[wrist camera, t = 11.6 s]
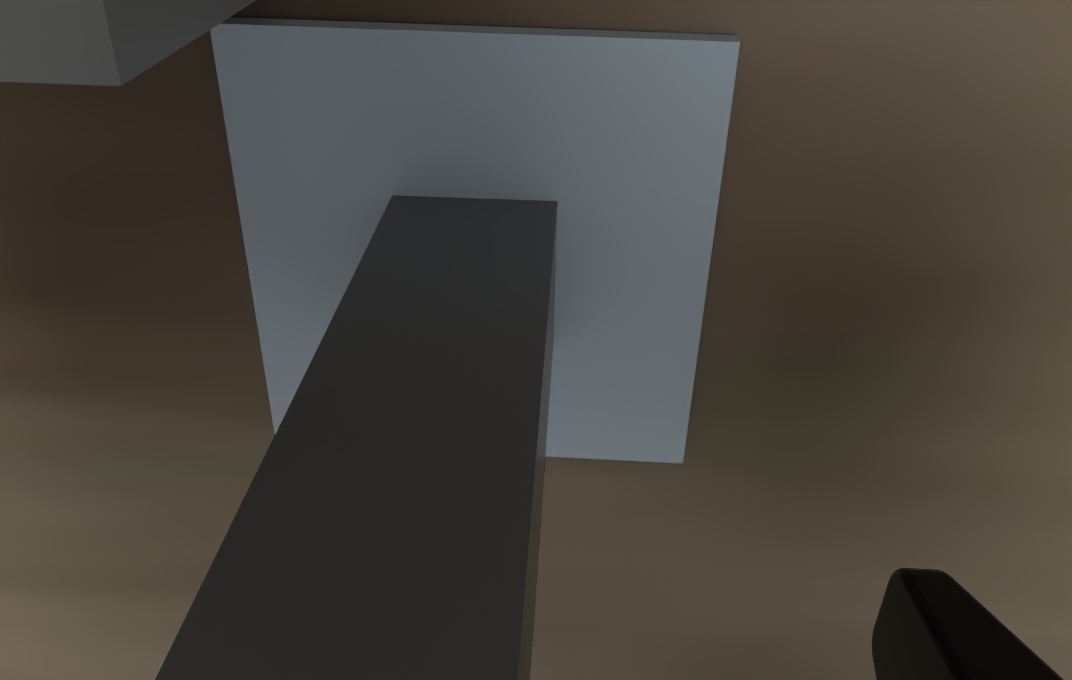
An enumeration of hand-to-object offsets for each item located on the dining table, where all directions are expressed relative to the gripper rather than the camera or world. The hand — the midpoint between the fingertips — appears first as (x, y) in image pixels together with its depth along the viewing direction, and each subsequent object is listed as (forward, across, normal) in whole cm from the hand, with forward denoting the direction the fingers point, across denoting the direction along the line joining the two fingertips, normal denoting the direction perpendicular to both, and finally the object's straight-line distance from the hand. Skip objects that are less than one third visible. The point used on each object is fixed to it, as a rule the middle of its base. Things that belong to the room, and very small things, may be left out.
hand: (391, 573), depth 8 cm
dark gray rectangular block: (+6, 0, 0) cm, 6 cm away
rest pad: (+7, 0, 0) cm, 7 cm away
